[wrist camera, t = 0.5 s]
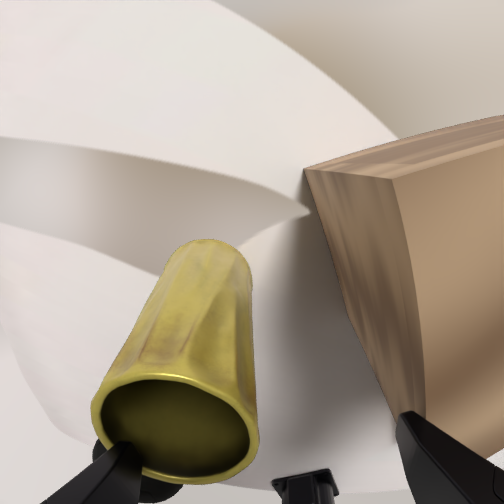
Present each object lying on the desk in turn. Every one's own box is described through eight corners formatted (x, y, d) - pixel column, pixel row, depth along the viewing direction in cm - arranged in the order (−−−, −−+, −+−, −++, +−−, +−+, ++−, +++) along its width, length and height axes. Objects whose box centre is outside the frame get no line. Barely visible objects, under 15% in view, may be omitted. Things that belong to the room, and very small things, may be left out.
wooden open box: (519, 244, 20) (645, 311, 5) (348, 317, 22) (422, 490, 8) (497, 115, 17) (647, 108, 3) (303, 168, 20) (391, 179, 5)
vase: (229, 222, 21) (215, 323, 7) (266, 302, 22) (304, 467, 8) (148, 260, 21) (40, 386, 7) (189, 333, 23) (150, 500, 9)
